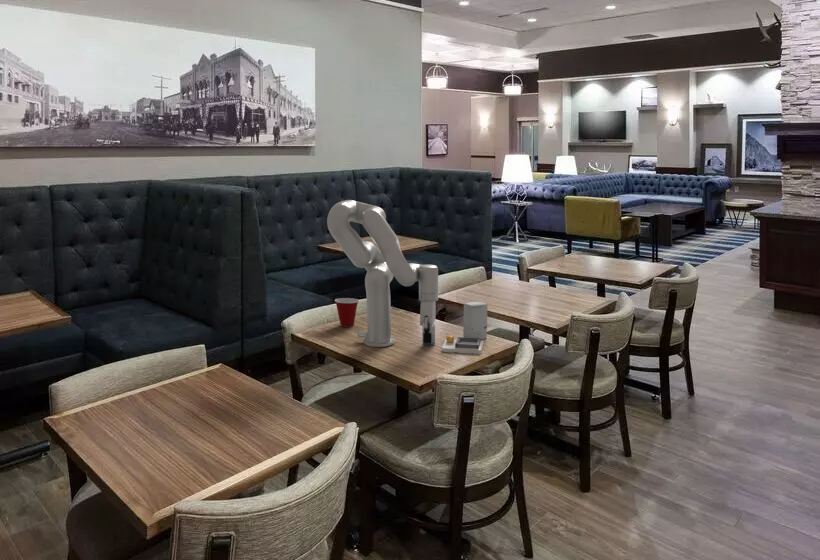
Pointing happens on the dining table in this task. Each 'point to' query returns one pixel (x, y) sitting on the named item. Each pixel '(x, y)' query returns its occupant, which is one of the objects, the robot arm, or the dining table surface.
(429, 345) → the block
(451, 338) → the button
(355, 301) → the plastic cup
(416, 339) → the dining table surface
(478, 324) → the skincare box
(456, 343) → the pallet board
